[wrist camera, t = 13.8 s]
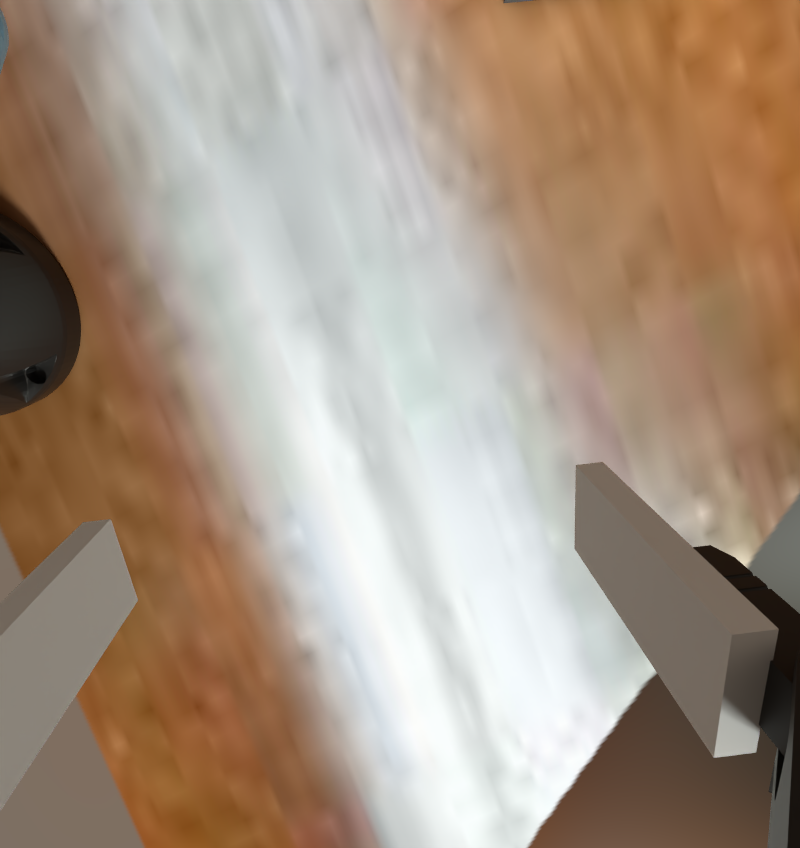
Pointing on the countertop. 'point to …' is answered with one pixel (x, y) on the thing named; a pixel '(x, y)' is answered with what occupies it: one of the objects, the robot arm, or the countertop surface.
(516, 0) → the tray
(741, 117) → the countertop surface
